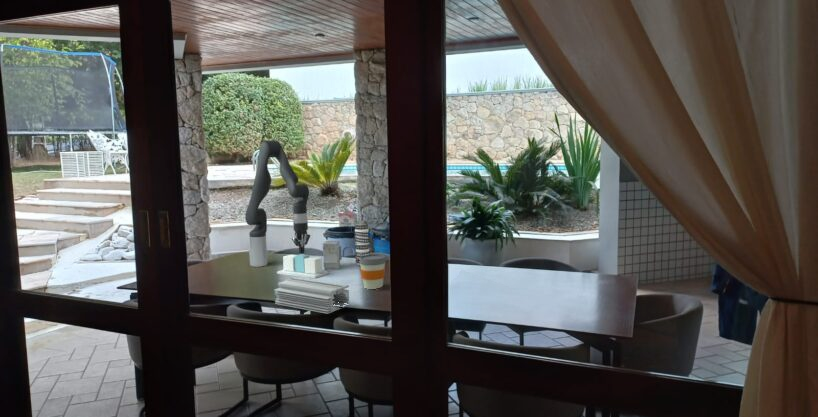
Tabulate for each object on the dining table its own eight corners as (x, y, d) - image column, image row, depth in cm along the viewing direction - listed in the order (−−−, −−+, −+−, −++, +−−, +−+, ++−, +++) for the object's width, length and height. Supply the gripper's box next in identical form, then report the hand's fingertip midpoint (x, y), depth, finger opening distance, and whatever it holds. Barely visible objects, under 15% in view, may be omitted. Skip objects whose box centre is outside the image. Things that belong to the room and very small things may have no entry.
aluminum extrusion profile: (327, 314, 232) (326, 290, 231) (274, 304, 249) (273, 282, 247) (349, 305, 244) (348, 283, 243) (297, 296, 260) (296, 275, 259)
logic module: (295, 271, 304) (294, 255, 303) (301, 269, 308) (300, 254, 307) (304, 272, 301) (303, 256, 300) (310, 270, 305) (309, 254, 304)
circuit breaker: (342, 264, 325) (341, 239, 323) (337, 270, 310) (335, 243, 309) (329, 264, 325) (328, 239, 323) (323, 270, 311) (322, 243, 309)
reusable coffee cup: (366, 292, 264) (365, 260, 262) (356, 286, 275) (355, 256, 273) (390, 288, 270) (389, 257, 268) (379, 282, 281) (378, 253, 279)
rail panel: (277, 273, 306) (276, 257, 305) (292, 269, 316) (291, 253, 315) (314, 278, 293) (313, 261, 292) (328, 273, 303) (328, 256, 302)
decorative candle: (351, 264, 324) (350, 221, 321) (361, 261, 332) (359, 219, 329) (364, 266, 319) (363, 222, 316) (374, 262, 327) (372, 220, 324)
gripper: (303, 219, 309) (304, 250, 311) (286, 222, 297) (288, 255, 299) (313, 220, 305) (315, 251, 307) (297, 223, 294) (299, 256, 296)
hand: (301, 253), depth 303 cm, fingers closed
